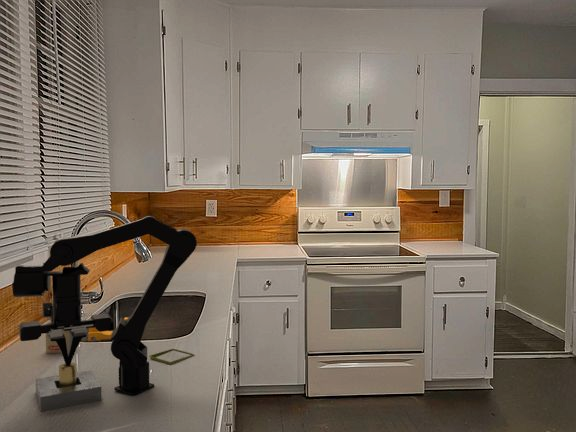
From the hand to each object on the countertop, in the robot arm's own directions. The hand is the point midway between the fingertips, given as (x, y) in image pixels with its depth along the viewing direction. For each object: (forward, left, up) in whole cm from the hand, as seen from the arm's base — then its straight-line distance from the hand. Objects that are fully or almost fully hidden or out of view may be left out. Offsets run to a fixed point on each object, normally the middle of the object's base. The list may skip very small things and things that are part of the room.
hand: (67, 365), depth 116 cm
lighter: (+30, -20, -7) cm, 37 cm away
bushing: (0, 0, -7) cm, 7 cm away
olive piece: (-3, -30, -8) cm, 31 cm away
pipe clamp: (+27, -35, -7) cm, 45 cm away
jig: (0, 0, -7) cm, 7 cm away
